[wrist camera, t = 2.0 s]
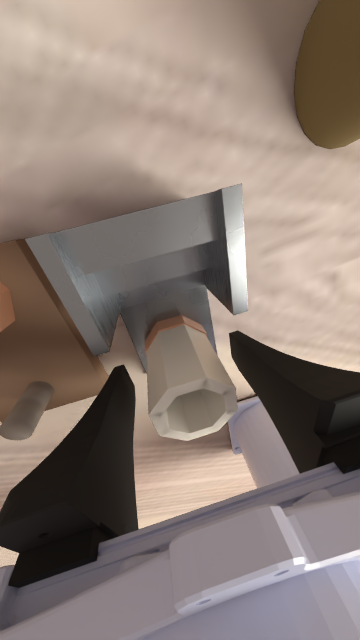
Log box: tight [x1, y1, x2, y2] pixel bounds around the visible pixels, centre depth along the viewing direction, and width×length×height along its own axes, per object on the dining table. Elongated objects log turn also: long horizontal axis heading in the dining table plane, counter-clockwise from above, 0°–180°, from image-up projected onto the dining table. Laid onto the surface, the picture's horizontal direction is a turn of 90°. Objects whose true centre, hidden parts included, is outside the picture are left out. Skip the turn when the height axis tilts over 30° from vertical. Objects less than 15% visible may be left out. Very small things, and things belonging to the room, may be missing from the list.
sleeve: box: [145, 315, 238, 441], centre depth 12 cm, size 4×4×6 cm
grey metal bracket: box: [25, 183, 248, 373], centre depth 11 cm, size 11×6×6 cm, turn 13°
